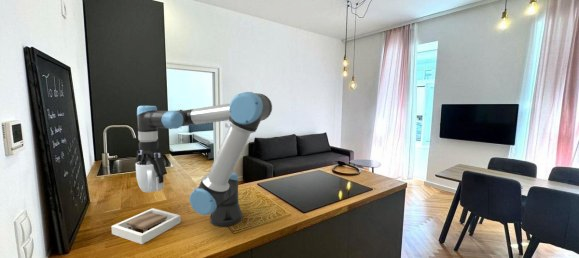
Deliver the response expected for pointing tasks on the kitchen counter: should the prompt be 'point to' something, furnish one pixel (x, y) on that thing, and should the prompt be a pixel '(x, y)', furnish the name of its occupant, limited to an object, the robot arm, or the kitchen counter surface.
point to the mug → (146, 177)
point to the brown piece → (146, 221)
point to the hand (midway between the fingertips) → (150, 187)
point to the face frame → (141, 238)
